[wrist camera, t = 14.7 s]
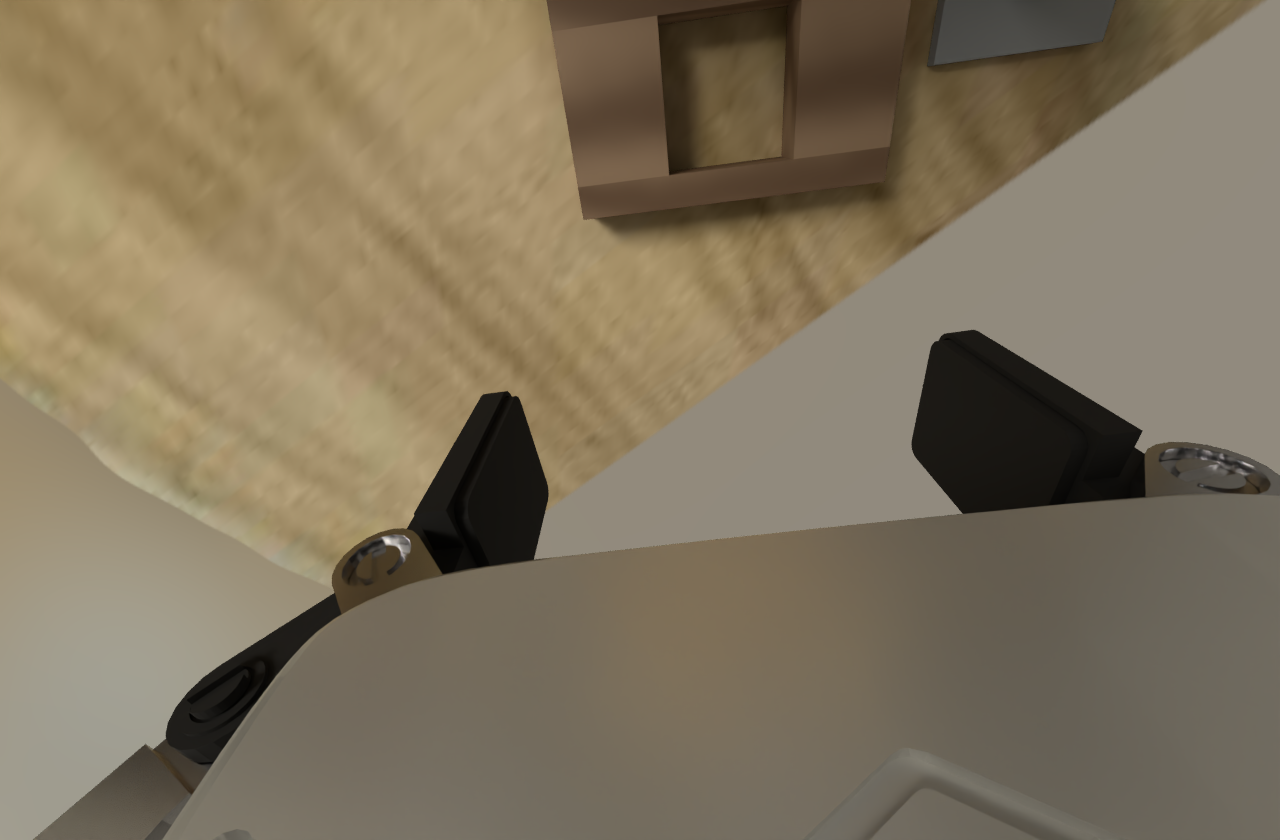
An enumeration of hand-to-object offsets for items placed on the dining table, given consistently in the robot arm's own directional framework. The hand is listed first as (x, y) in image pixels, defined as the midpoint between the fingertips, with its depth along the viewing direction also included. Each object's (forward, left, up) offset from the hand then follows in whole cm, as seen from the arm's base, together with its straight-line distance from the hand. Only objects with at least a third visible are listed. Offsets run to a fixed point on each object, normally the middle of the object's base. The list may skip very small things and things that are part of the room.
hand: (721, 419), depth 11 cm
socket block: (-7, +4, -28) cm, 29 cm away
